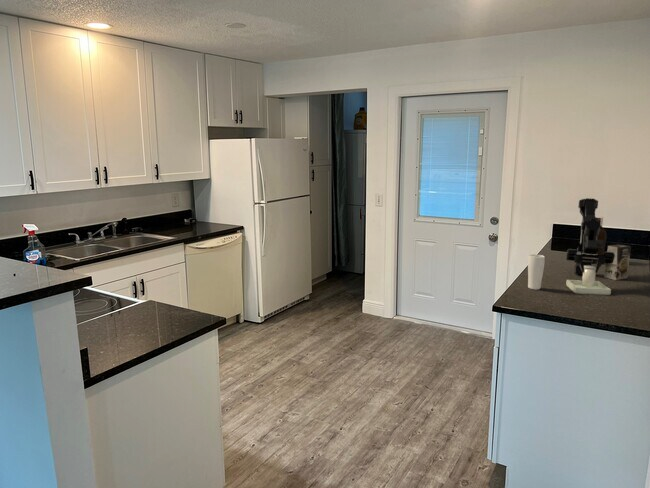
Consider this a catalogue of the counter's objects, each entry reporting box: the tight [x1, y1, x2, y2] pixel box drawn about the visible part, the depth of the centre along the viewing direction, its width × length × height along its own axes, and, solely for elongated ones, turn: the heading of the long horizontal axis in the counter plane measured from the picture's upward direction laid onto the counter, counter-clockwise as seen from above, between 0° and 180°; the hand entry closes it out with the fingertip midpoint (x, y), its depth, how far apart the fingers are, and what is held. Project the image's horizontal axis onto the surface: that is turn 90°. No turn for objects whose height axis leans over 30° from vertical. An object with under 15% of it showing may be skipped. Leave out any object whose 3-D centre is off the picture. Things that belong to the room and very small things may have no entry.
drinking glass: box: [527, 254, 546, 291], centre depth 223 cm, size 7×7×15 cm
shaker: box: [581, 264, 597, 287], centre depth 221 cm, size 5×5×9 cm
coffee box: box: [603, 244, 632, 281], centre depth 242 cm, size 9×6×16 cm
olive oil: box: [591, 217, 608, 265], centre depth 276 cm, size 11×11×25 cm
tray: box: [565, 279, 612, 296], centre depth 222 cm, size 14×14×2 cm
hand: (589, 272), depth 219 cm, fingers closed on shaker, 5 cm apart
